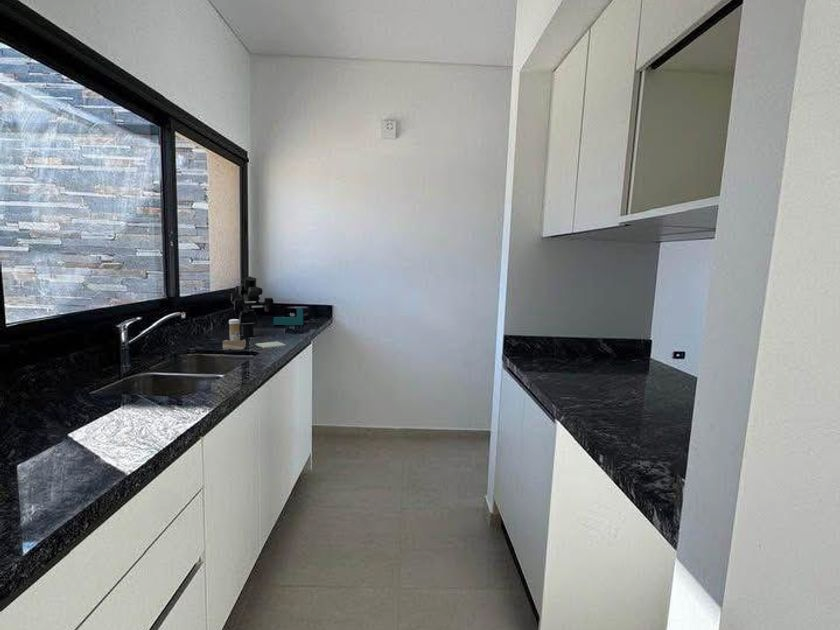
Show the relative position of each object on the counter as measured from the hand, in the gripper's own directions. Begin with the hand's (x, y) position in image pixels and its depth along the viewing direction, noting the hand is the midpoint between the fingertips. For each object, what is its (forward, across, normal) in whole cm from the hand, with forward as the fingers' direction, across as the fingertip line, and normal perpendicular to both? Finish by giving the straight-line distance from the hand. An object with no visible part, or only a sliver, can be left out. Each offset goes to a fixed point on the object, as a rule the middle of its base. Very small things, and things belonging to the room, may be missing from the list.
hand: (257, 311), depth 227 cm
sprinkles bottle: (+11, -12, +14) cm, 21 cm away
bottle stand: (+12, -13, +13) cm, 22 cm away
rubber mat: (+12, +4, +13) cm, 18 cm away
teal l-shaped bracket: (-52, +32, +35) cm, 70 cm away
